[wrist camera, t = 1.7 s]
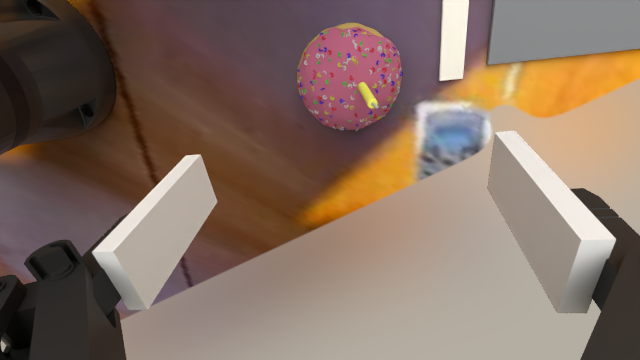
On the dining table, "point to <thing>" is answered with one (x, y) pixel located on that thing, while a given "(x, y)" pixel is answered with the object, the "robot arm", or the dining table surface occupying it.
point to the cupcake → (349, 76)
